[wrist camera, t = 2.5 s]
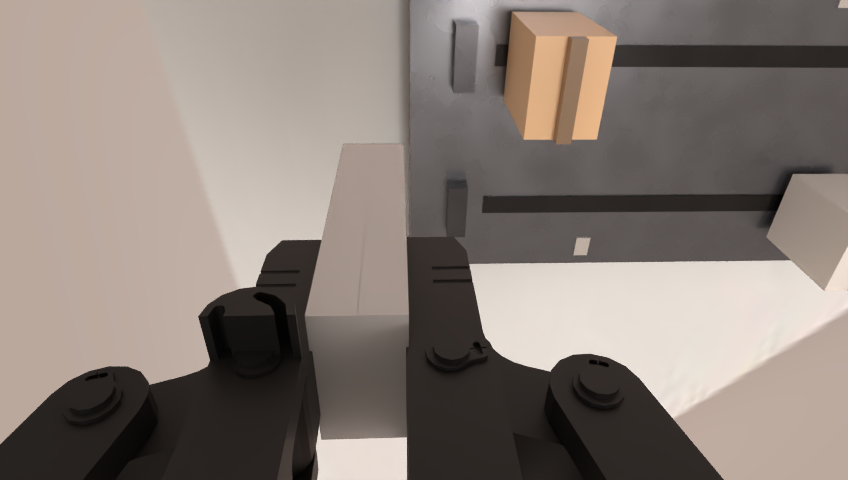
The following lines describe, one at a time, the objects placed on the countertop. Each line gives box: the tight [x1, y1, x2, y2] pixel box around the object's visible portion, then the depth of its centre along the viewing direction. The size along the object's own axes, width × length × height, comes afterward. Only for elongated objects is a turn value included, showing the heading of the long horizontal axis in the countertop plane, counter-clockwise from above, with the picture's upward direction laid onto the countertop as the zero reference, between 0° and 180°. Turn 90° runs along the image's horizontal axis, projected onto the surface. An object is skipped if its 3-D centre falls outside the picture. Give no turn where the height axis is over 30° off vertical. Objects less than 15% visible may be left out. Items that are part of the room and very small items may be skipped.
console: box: [409, 0, 848, 264], centre depth 28 cm, size 16×28×3 cm, turn 89°
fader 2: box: [766, 174, 848, 291], centre depth 27 cm, size 4×3×6 cm
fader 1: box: [504, 11, 617, 144], centre depth 23 cm, size 4×3×6 cm
